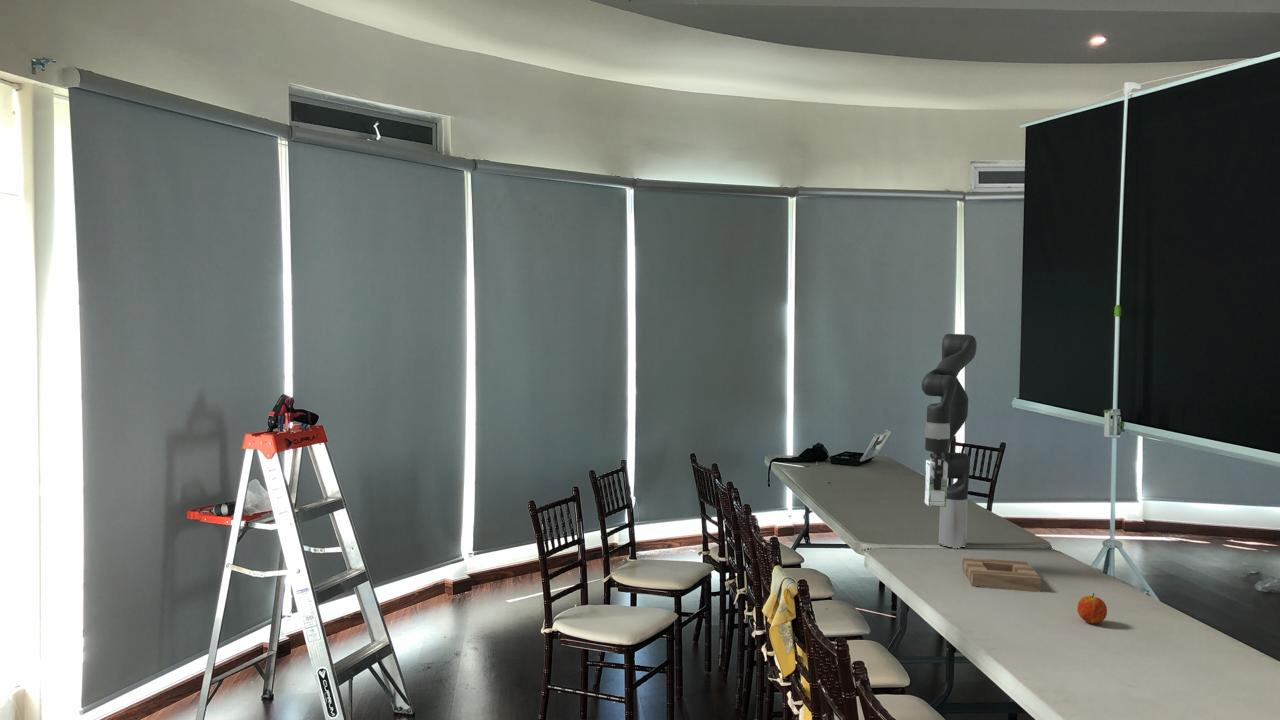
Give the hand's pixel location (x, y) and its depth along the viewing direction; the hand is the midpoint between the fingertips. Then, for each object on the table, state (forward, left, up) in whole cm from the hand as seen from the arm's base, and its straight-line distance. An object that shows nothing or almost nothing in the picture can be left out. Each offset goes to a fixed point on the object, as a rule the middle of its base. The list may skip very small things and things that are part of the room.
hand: (935, 487), depth 283 cm
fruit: (+48, +34, -26) cm, 64 cm away
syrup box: (0, 0, -6) cm, 6 cm away
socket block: (+12, +18, -25) cm, 33 cm away
